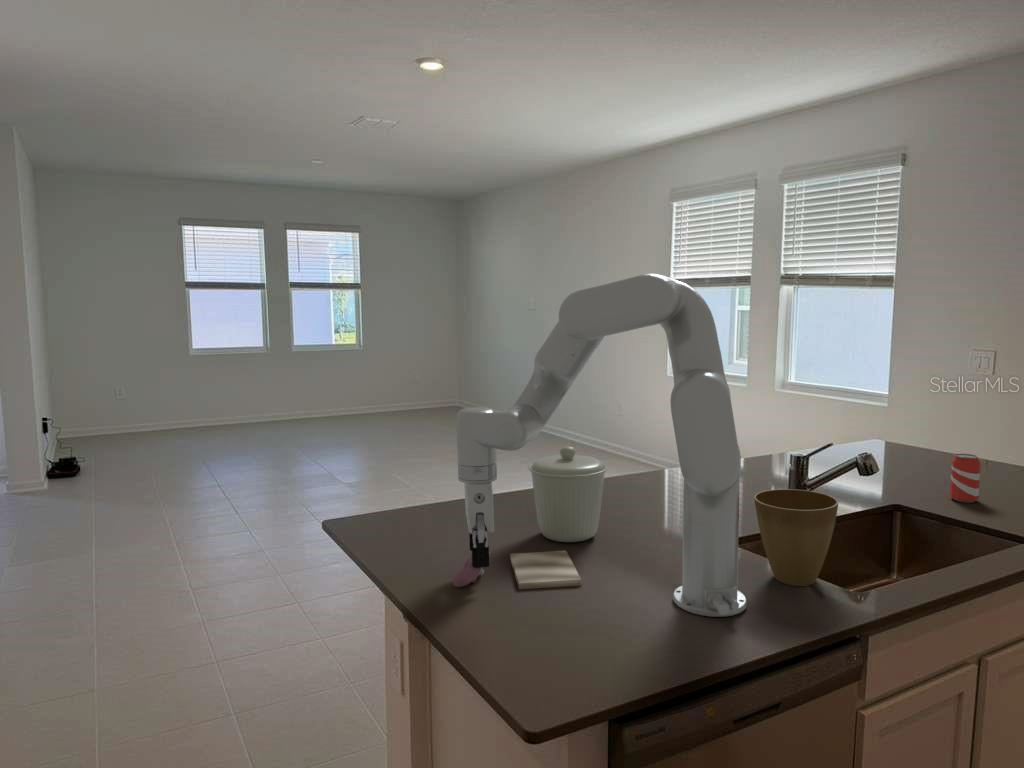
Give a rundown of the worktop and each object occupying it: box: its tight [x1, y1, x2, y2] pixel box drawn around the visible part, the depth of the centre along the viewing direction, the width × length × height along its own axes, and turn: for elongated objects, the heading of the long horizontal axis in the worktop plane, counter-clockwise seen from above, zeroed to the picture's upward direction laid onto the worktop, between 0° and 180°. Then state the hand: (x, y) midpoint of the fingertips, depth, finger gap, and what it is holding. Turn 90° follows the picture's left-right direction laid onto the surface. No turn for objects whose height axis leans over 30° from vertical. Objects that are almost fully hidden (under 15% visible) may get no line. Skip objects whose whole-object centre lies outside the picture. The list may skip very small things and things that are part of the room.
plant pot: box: [753, 488, 839, 587], centre depth 136 cm, size 15×15×16 cm
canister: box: [528, 445, 608, 543], centre depth 163 cm, size 18×18×21 cm
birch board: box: [509, 550, 582, 590], centre depth 142 cm, size 16×12×1 cm
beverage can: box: [949, 453, 982, 504], centre depth 186 cm, size 6×6×12 cm
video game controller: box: [452, 551, 491, 588], centre depth 139 cm, size 10×5×7 cm, turn 169°
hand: (479, 558), depth 138 cm, fingers closed on video game controller, 8 cm apart
